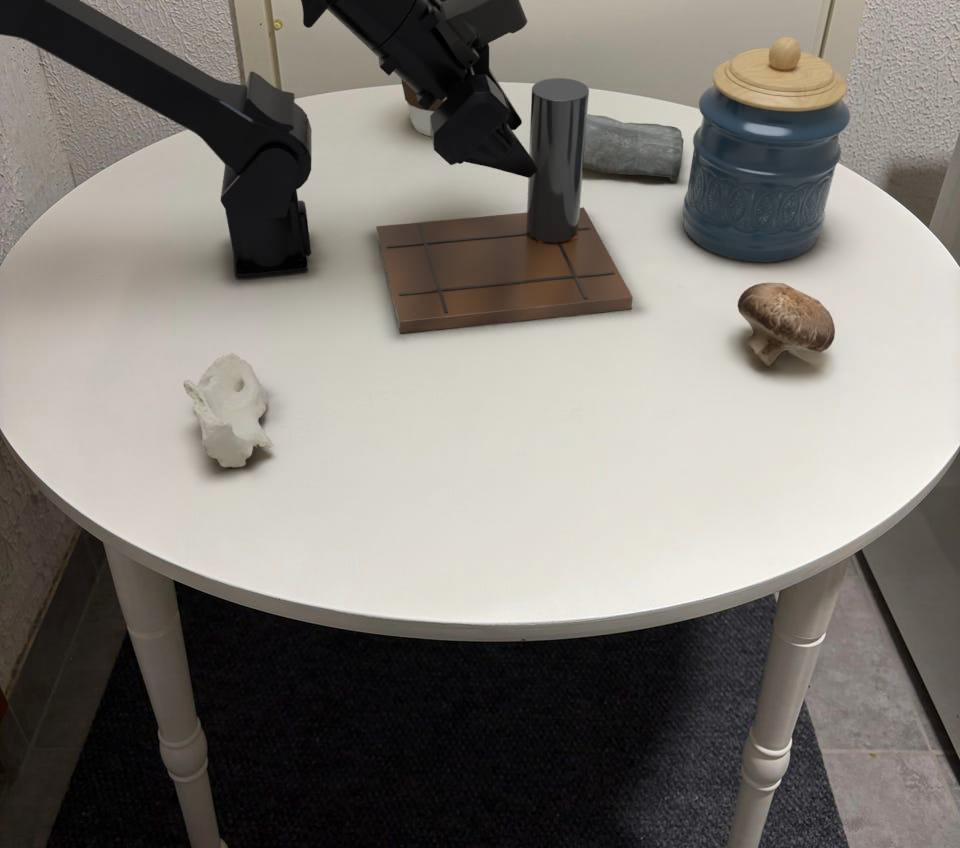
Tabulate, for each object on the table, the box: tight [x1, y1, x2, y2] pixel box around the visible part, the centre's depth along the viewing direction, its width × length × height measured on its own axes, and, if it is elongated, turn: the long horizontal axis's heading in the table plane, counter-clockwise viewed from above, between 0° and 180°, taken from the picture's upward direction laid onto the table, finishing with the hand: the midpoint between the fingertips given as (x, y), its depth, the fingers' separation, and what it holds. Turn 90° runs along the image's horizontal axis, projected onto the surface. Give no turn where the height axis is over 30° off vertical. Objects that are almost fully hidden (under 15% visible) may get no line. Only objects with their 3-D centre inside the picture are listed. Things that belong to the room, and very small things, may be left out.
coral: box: [182, 352, 274, 469], centre depth 76 cm, size 6×10×4 cm, turn 18°
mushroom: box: [737, 282, 836, 367], centre depth 84 cm, size 8×8×6 cm
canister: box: [682, 36, 851, 263], centre depth 93 cm, size 13×13×18 cm
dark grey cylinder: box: [526, 77, 590, 243], centre depth 92 cm, size 5×5×13 cm
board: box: [375, 207, 634, 334], centre depth 93 cm, size 20×16×1 cm
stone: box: [583, 113, 685, 181], centre depth 109 cm, size 11×4×15 cm
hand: (525, 148), depth 91 cm, fingers open, 9 cm apart
